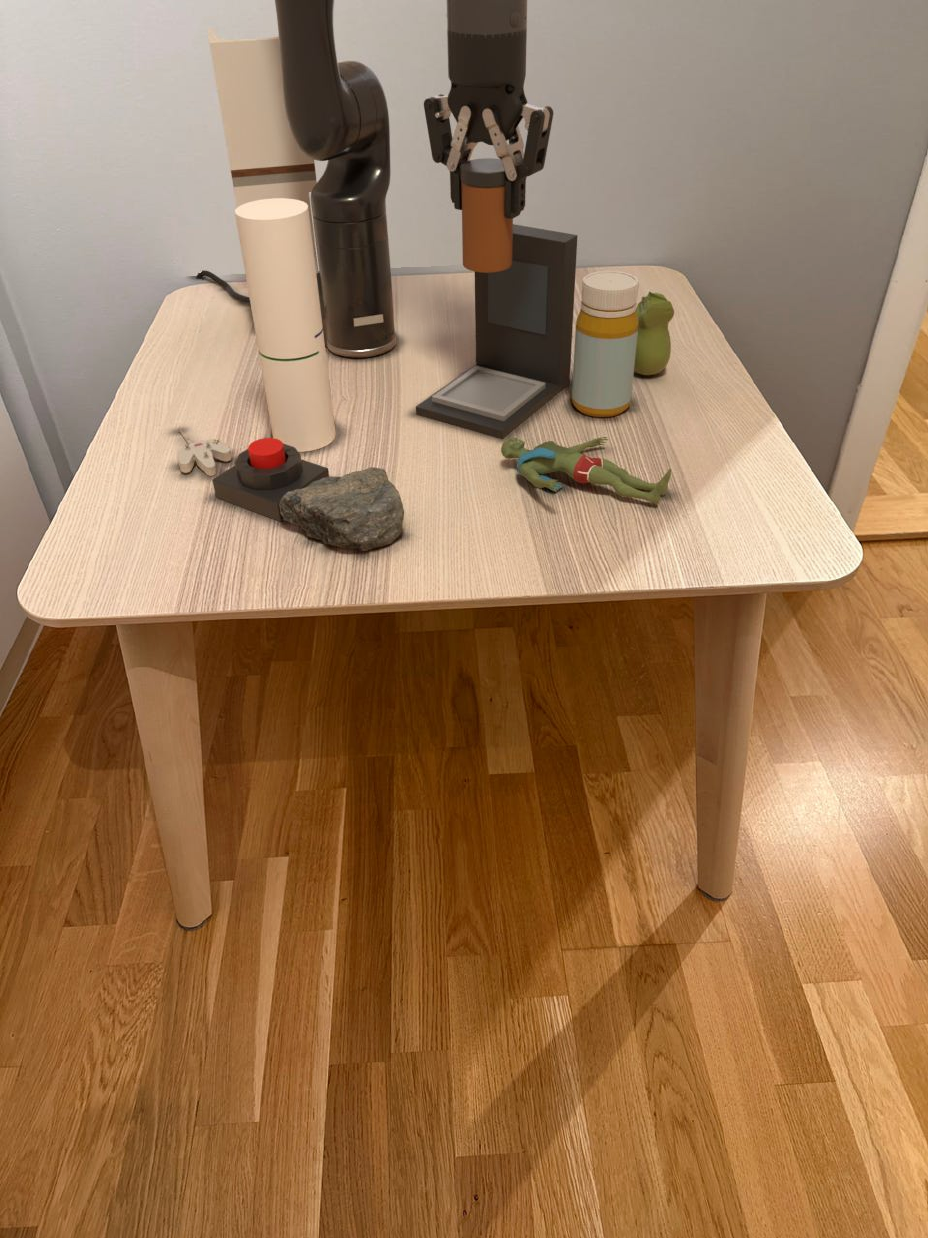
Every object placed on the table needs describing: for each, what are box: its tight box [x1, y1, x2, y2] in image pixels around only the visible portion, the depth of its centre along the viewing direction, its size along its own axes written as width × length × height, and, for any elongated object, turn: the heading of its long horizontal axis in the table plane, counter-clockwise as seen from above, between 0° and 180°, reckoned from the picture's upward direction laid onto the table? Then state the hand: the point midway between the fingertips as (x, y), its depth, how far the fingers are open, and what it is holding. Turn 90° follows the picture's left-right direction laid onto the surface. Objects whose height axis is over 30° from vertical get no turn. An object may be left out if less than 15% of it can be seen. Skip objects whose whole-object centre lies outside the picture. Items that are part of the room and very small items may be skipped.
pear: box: [634, 291, 675, 376], centre depth 115 cm, size 6×5×10 cm
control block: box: [211, 444, 330, 522], centre depth 97 cm, size 9×8×4 cm
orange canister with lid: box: [460, 157, 514, 273], centre depth 99 cm, size 7×6×10 cm
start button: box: [247, 437, 286, 469], centre depth 96 cm, size 4×4×2 cm
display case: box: [206, 28, 319, 273], centre depth 126 cm, size 11×11×35 cm
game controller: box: [176, 428, 232, 477], centre depth 104 cm, size 6×12×3 cm, turn 49°
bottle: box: [571, 270, 640, 418], centre depth 107 cm, size 7×7×15 cm
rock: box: [279, 466, 405, 552], centre depth 91 cm, size 12×10×5 cm
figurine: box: [500, 436, 672, 506], centre depth 97 cm, size 16×4×18 cm
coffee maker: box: [415, 223, 578, 440], centre depth 108 cm, size 16×12×18 cm
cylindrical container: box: [234, 198, 336, 453], centre depth 100 cm, size 7×7×25 cm
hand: (487, 211), depth 98 cm, fingers closed on orange canister with lid, 5 cm apart
